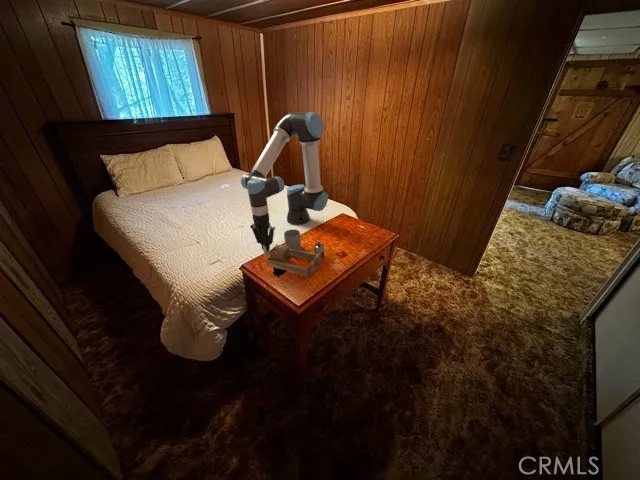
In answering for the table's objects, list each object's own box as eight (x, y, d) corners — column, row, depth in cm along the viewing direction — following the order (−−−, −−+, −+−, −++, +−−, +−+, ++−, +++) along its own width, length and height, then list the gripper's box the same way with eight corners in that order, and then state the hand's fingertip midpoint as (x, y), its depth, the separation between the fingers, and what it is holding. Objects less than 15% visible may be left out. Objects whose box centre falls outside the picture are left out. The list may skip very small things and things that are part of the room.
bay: (280, 252, 135) (279, 244, 132) (321, 260, 127) (321, 251, 125) (266, 266, 124) (265, 258, 121) (310, 276, 116) (310, 267, 114)
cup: (298, 254, 133) (297, 237, 128) (283, 252, 134) (281, 236, 129) (302, 245, 140) (301, 229, 135) (288, 244, 141) (286, 228, 136)
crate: (278, 255, 132) (276, 244, 129) (290, 258, 130) (289, 246, 126) (271, 263, 126) (269, 251, 123) (283, 266, 124) (282, 253, 120)
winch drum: (316, 252, 133) (316, 239, 129) (325, 254, 132) (325, 240, 127) (312, 257, 129) (312, 243, 125) (322, 259, 128) (321, 245, 123)
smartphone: (257, 266, 125) (277, 278, 116) (257, 265, 125) (277, 276, 116) (269, 259, 130) (289, 270, 121) (269, 258, 129) (289, 269, 121)
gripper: (243, 214, 117) (252, 256, 129) (268, 218, 113) (274, 261, 125) (253, 208, 123) (260, 249, 135) (276, 211, 119) (281, 253, 131)
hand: (267, 255), depth 130 cm, fingers closed
